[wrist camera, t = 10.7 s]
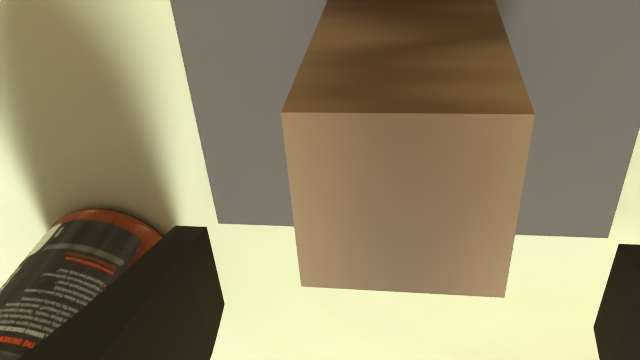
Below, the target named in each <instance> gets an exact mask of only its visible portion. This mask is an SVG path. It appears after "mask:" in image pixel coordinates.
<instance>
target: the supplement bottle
mask: <svg viewBox="0 0 640 360" xmlns="http://www.w3.org/2000/svg"><path fill="white" fill-rule="evenodd" d="M161 238H162V236H161V235H160V234H159V233H158V232H156V231H155V230H153V229H152V228H150V226H148V225H146V224H145V223H143V222H142V221H139V220H137V219H136V218H133V217H131V216H128V215H126V214H122V213H119V212H115V211H110V210H104V209H84V210H79V211H75V212H72V213H70V214H68V215H66V216H64V217H62V218H61V219H59V220H58V221H57V222H56V223H55V224H54V225H53V226H52V228H51V229H50V230H49V231H47V232H46V234H45V235H44V236H43V237H42V238H41V240H40V241H39V242H38V243H37V244H36V246H35V247H34V248H33V249H32V251H31V252H30V253H29V254H28V256H27V257H26V258H25V259H24V261H23V262H22V263H21V264H20V265H19V267H18V268H17V269H16V270H15V272H14V273H13V274H12V275H11V276H10V277H9V279H8V280H7V282H6V283H5V284H4V285H3V286H2V287H1V289H0V360H17V359H18V358H19V357H21V356H22V355H24V354H25V353H26V352H28V351H29V350H30V349H32V348H33V347H34V346H36V345H37V344H38V343H40V342H41V341H42V340H43V339H45V338H46V337H47V336H48V335H50V334H51V333H52V332H53V331H55V330H56V329H57V328H58V327H60V326H61V325H62V324H63V323H64V322H66V321H67V320H68V319H69V318H71V317H72V316H73V315H74V314H76V313H77V312H78V311H79V310H81V309H82V308H83V307H84V306H86V305H87V304H88V303H89V302H90V301H92V300H93V299H94V298H95V297H96V296H97V295H98V294H100V293H101V292H102V291H103V290H104V289H105V288H106V287H108V286H109V285H110V284H111V283H112V282H113V281H114V280H116V279H117V278H118V277H119V276H120V275H121V274H122V273H124V272H125V271H126V270H127V269H128V268H129V267H130V266H131V265H132V264H134V263H135V262H136V261H137V260H138V259H139V258H140V257H141V256H142V255H143V254H145V253H146V252H147V251H148V250H149V249H150V248H151V247H152V246H153V245H155V244H156V243H157V242H158V241H159V240H160V239H161Z"/></svg>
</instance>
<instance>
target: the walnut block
mask: <svg viewBox="0 0 640 360" xmlns="http://www.w3.org/2000/svg"><path fill="white" fill-rule="evenodd" d="M534 117H535V113H534V110H533V107H532V104H531V102H530V99H529V96H528V93H527V90H526V87H525V85H524V82H523V79H522V76H521V73H520V70H519V67H518V65H517V62H516V59H515V56H514V53H513V50H512V48H511V45H510V42H509V39H508V36H507V33H506V31H505V28H504V25H503V22H502V19H501V16H500V14H499V11H498V8H497V5H496V2H495V0H327V2H326V5H325V7H324V10H323V12H322V14H321V17H320V19H319V22H318V24H317V26H316V29H315V31H314V34H313V36H312V39H311V41H310V43H309V46H308V48H307V51H306V53H305V55H304V58H303V60H302V63H301V65H300V67H299V70H298V72H297V75H296V77H295V80H294V82H293V84H292V87H291V89H290V92H289V94H288V96H287V99H286V101H285V104H284V106H283V108H282V111H281V118H282V126H283V135H284V143H285V152H286V160H287V169H288V177H289V186H290V194H291V203H292V211H293V220H294V228H295V237H296V245H297V254H298V262H299V271H300V279H301V286H304V287H322V288H340V289H358V290H376V291H394V292H412V293H430V294H448V295H466V296H484V297H502V298H504V296H505V290H506V285H507V279H508V273H509V267H510V261H511V255H512V249H513V243H514V237H515V231H516V225H517V219H518V213H519V207H520V201H521V195H522V189H523V183H524V177H525V171H526V165H527V159H528V153H529V147H530V141H531V135H532V129H533V123H534Z"/></svg>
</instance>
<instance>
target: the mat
mask: <svg viewBox="0 0 640 360" xmlns="http://www.w3.org/2000/svg"><path fill="white" fill-rule="evenodd" d="M170 2H171V7H172V11H173V16H174V21H175V25H176V30H177V34H178V39H179V44H180V48H181V53H182V57H183V62H184V67H185V71H186V76H187V80H188V85H189V90H190V94H191V99H192V104H193V108H194V113H195V117H196V122H197V127H198V131H199V136H200V140H201V145H202V150H203V154H204V159H205V164H206V168H207V173H208V177H209V182H210V187H211V191H212V196H213V200H214V205H215V210H216V214H217V219H218V223H221V224H247V225H274V226H294V220H293V211H292V203H291V194H290V186H289V177H288V169H287V160H286V152H285V143H284V135H283V126H282V118H281V111H282V108H283V106H284V104H285V101H286V99H287V96H288V94H289V92H290V89H291V87H292V84H293V82H294V80H295V77H296V75H297V72H298V70H299V67H300V65H301V63H302V60H303V58H304V55H305V53H306V51H307V48H308V46H309V43H310V41H311V39H312V36H313V34H314V31H315V29H316V26H317V24H318V22H319V19H320V17H321V14H322V12H323V10H324V7H325V5H326V2H327V0H170ZM495 2H496V5H497V8H498V11H499V14H500V16H501V19H502V22H503V25H504V28H505V31H506V33H507V36H508V39H509V42H510V45H511V48H512V50H513V53H514V56H515V59H516V62H517V65H518V67H519V70H520V73H521V76H522V79H523V82H524V85H525V87H526V90H527V93H528V96H529V99H530V102H531V104H532V107H533V110H534V113H535V117H534V123H533V129H532V135H531V141H530V147H529V153H528V159H527V165H526V171H525V177H524V183H523V189H522V195H521V201H520V207H519V213H518V219H517V225H516V231H515V235H539V236H566V237H592V238H608V236H609V232H610V229H611V225H612V222H613V218H614V215H615V211H616V208H617V204H618V201H619V197H620V194H621V191H622V187H623V184H624V180H625V177H626V173H627V170H628V166H629V163H630V159H631V156H632V152H633V149H634V145H635V142H636V138H637V135H638V131H639V128H640V0H495Z"/></svg>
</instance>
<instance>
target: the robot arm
mask: <svg viewBox="0 0 640 360" xmlns="http://www.w3.org/2000/svg"><path fill="white" fill-rule="evenodd" d="M223 308H224V300H223V295H222V291H221V287H220V282H219V278H218V274H217V270H216V265H215V261H214V257H213V252H212V248H211V244H210V240H209V235H208V231H207V227H193V226H175V227H174V228H173V229H172V230H170V231H169V232H168V233H167V234H166V235H165V236H163V237H162V238H161V239H160V240H159V241H158V242H157V243H156V244H155V245H153V246H152V247H151V248H150V249H149V250H148V251H147V252H146V253H145V254H143V255H142V256H141V257H140V258H139V259H138V260H137V261H136V262H135V263H134V264H132V265H131V266H130V267H129V268H128V269H127V270H126V271H125V272H124V273H122V274H121V275H120V276H119V277H118V278H117V279H116V280H114V281H113V282H112V283H111V284H110V285H109V286H108V287H106V288H105V289H104V290H103V291H102V292H101V293H100V294H98V295H97V296H96V297H95V298H94V299H93V300H92V301H90V302H89V303H88V304H87V305H86V306H84V307H83V308H82V309H81V310H79V311H78V312H77V313H76V314H74V315H73V316H72V317H71V318H69V319H68V320H67V321H66V322H64V323H63V324H62V325H61V326H60V327H58V328H57V329H56V330H55V331H53V332H52V333H51V334H50V335H48V336H47V337H46V338H45V339H43V340H42V341H41V342H40V343H38V344H37V345H36V346H34V347H33V348H32V349H30V350H29V351H28V352H26V353H25V354H24V355H22V356H21V357H19V358H18V359H17V360H210V358H211V355H212V352H213V348H214V344H215V341H216V337H217V333H218V329H219V325H220V321H221V317H222V312H223ZM594 332H595V338H596V343H597V348H598V354H599V359H600V360H640V245H631V244H619V245H618V248H617V252H616V255H615V258H614V261H613V265H612V268H611V271H610V275H609V278H608V281H607V284H606V288H605V291H604V294H603V298H602V301H601V304H600V307H599V311H598V314H597V317H596V321H595V324H594Z"/></svg>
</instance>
